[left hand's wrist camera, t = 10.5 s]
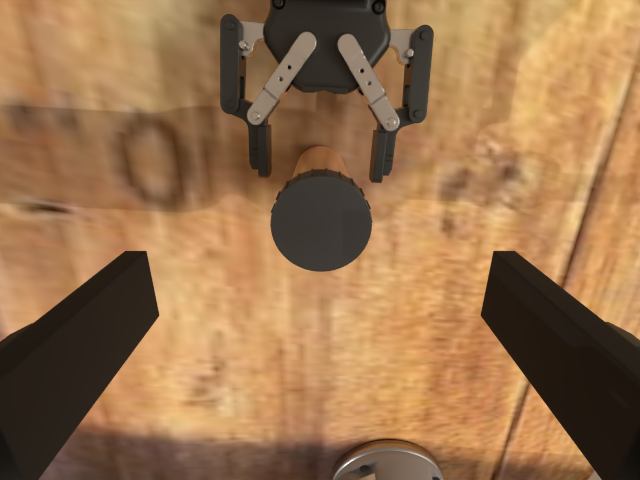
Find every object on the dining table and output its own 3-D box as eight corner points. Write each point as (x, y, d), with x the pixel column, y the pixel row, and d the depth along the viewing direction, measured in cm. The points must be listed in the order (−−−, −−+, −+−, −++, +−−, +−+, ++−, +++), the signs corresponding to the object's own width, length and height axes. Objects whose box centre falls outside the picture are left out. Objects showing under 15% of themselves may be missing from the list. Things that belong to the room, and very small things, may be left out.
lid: (375, 172, 20) (381, 180, 18) (360, 261, 22) (364, 277, 20) (276, 162, 20) (272, 169, 18) (271, 253, 22) (267, 268, 20)
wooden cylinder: (348, 148, 32) (370, 186, 18) (342, 197, 34) (357, 266, 20) (298, 143, 32) (281, 177, 18) (294, 192, 34) (276, 258, 20)
